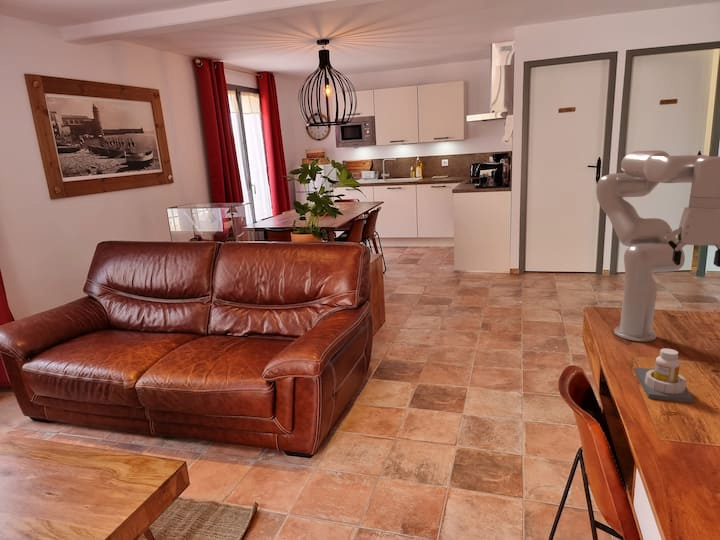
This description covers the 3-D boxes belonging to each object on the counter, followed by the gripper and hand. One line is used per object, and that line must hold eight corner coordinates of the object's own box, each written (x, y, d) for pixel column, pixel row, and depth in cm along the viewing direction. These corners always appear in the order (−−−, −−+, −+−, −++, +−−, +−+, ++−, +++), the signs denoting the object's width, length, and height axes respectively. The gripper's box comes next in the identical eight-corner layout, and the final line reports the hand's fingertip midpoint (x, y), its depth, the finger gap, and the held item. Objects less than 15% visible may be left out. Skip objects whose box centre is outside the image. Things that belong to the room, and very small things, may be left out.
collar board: (634, 371, 140) (636, 359, 139) (674, 375, 137) (676, 363, 136) (648, 398, 125) (650, 385, 124) (693, 403, 122) (695, 389, 121)
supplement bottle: (669, 380, 131) (674, 347, 129) (680, 390, 126) (686, 355, 123) (648, 380, 132) (653, 346, 129) (658, 389, 126) (663, 355, 124)
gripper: (737, 202, 132) (727, 263, 136) (665, 201, 137) (657, 260, 141) (750, 205, 125) (738, 269, 129) (673, 204, 130) (664, 266, 134)
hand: (696, 264), depth 135 cm, fingers open, 9 cm apart
